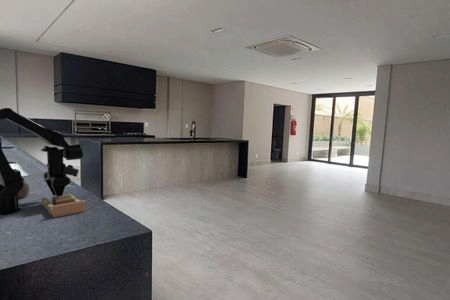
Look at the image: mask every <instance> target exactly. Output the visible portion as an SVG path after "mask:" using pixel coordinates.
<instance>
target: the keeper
mask: <svg viewBox="0 0 450 300" xmlns="http://www.w3.org/2000/svg"><path fill="white" fill-rule="evenodd" d="M71 202H74V198H72V197H71V196H70V195H67V194H65V195H62V196H56V195H55V196H52V197H51V203H52V204H53V205H60V204H66V203H71Z"/></svg>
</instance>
